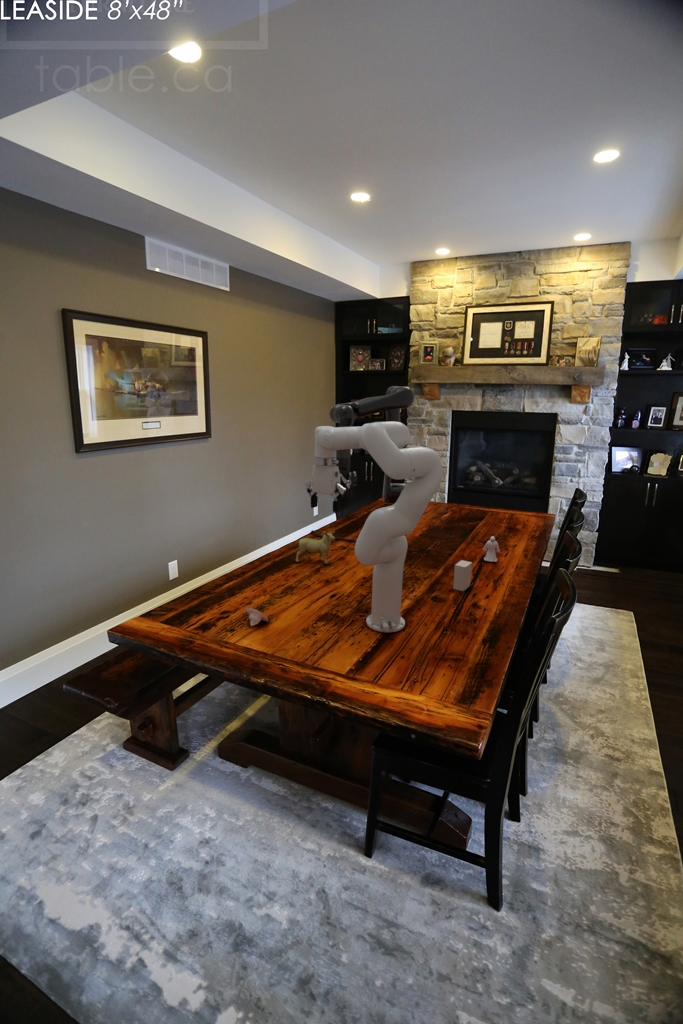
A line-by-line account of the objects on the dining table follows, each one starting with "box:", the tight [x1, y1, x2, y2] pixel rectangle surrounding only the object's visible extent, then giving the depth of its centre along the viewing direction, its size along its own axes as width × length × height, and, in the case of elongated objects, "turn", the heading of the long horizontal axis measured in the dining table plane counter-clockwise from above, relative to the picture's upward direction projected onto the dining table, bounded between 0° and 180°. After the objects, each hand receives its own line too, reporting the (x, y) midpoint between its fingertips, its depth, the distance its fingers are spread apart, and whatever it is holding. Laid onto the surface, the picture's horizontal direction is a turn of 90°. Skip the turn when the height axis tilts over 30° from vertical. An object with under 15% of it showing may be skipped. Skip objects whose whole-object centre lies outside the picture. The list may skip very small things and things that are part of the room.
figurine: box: [482, 535, 501, 563], centre depth 223 cm, size 8×8×12 cm
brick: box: [452, 559, 473, 592], centre depth 193 cm, size 4×7×10 cm, turn 146°
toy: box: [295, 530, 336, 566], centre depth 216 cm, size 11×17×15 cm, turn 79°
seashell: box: [245, 607, 269, 627], centre depth 160 cm, size 8×5×8 cm
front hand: (324, 509), depth 180 cm, fingers open, 9 cm apart
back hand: (340, 495), depth 203 cm, fingers open, 8 cm apart
